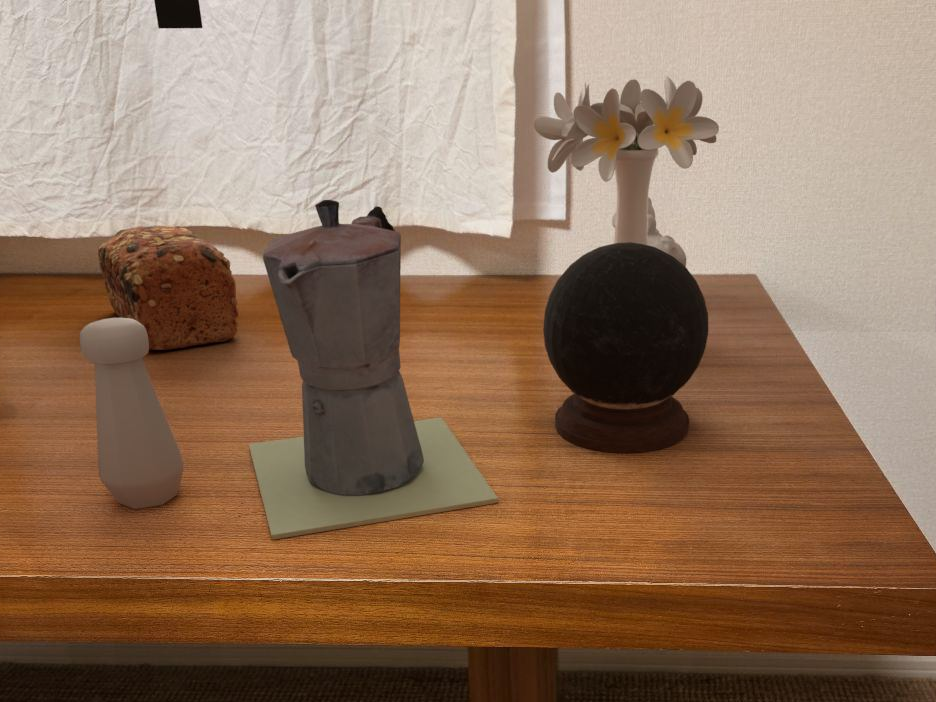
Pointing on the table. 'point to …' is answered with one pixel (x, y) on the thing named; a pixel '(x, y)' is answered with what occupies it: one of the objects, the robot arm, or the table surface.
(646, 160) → the flower vase
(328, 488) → the moka pot
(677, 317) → the black ball on stand
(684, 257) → the dog figurine
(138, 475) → the salt shaker
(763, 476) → the table surface
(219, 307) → the bread
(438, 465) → the centre mat
